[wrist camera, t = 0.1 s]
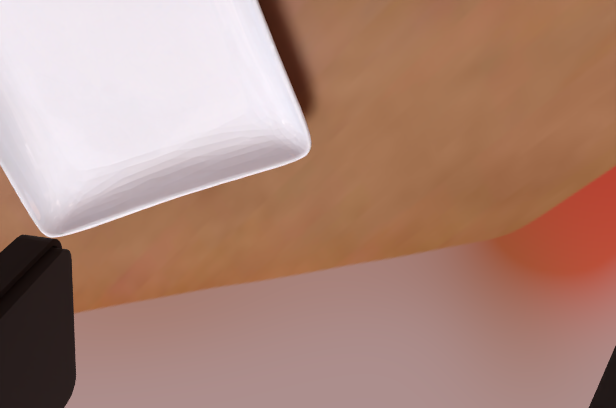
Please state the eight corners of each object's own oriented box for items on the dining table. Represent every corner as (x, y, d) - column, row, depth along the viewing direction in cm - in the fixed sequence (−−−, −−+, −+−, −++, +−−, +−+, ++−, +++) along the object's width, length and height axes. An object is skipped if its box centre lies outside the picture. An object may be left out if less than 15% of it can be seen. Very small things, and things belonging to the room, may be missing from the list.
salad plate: (320, 140, 41) (318, 156, 38) (63, 225, 45) (42, 245, 42) (199, -191, 34) (184, -206, 30) (-98, -55, 37) (-139, -55, 34)
